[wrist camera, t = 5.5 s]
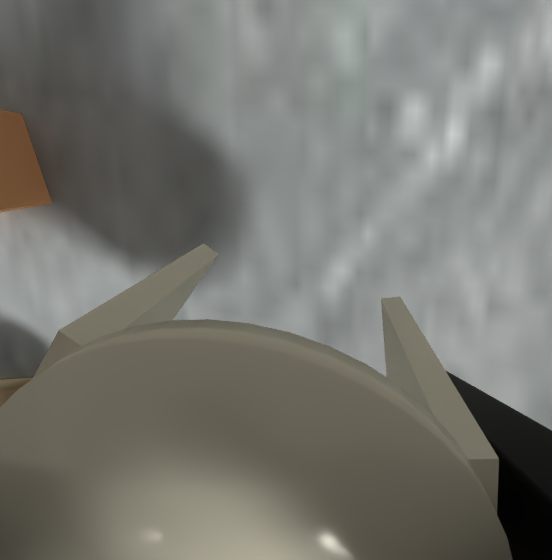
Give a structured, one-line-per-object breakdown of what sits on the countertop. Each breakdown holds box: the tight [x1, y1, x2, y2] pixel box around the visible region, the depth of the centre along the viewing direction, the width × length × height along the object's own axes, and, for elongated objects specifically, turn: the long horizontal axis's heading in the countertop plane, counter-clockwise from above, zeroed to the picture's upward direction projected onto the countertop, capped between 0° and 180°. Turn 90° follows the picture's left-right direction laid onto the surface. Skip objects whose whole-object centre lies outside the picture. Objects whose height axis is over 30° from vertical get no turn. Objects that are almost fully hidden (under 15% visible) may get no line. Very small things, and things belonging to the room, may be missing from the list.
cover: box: [0, 243, 513, 560], centre depth 7 cm, size 7×7×6 cm
